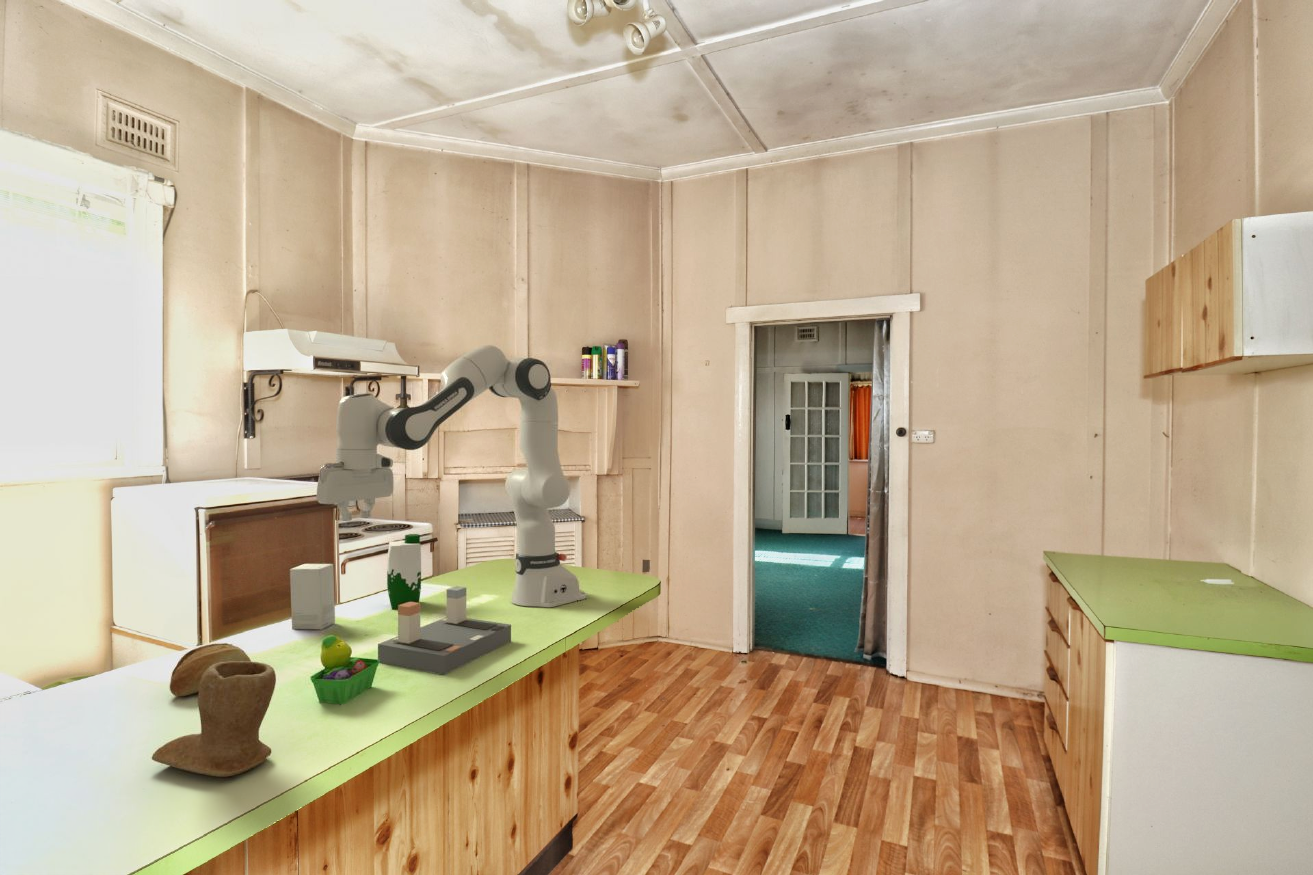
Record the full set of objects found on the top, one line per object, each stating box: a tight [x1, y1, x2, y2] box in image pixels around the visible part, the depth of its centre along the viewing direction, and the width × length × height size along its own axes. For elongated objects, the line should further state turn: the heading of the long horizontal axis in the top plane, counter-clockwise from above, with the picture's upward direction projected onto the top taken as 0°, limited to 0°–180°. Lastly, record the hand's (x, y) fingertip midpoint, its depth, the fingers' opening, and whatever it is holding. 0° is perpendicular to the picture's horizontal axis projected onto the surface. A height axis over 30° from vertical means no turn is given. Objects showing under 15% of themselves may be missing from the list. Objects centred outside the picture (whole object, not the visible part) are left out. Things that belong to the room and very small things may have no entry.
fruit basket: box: [310, 634, 380, 705], centre depth 130 cm, size 11×9×11 cm
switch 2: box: [445, 585, 467, 624], centre depth 163 cm, size 4×3×8 cm
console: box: [377, 617, 512, 676], centre depth 155 cm, size 24×18×5 cm
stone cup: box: [151, 661, 277, 778], centre depth 103 cm, size 15×12×15 cm
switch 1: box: [397, 602, 422, 644], centre depth 149 cm, size 4×3×8 cm
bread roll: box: [169, 642, 252, 697], centre depth 133 cm, size 10×15×8 cm, turn 156°
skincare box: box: [289, 563, 336, 631], centre depth 172 cm, size 8×7×16 cm
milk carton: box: [386, 533, 422, 610], centre depth 192 cm, size 9×9×20 cm
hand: (356, 519), depth 161 cm, fingers open, 4 cm apart
